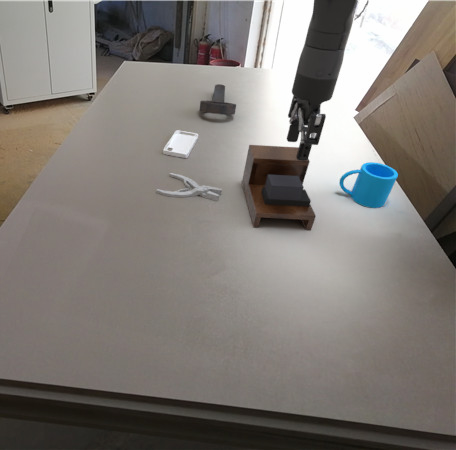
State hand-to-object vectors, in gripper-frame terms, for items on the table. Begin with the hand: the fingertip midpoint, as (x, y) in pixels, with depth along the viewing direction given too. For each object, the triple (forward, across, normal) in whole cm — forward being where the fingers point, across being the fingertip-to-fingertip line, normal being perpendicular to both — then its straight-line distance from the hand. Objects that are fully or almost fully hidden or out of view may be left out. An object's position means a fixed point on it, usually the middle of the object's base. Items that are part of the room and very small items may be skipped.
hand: (296, 150), depth 85 cm
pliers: (+17, +8, +20) cm, 28 cm away
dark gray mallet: (+17, +66, +9) cm, 69 cm away
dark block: (+13, 0, 0) cm, 13 cm away
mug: (+17, +9, -22) cm, 30 cm away
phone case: (+17, +33, +22) cm, 43 cm away
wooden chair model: (+17, +4, +1) cm, 17 cm away
